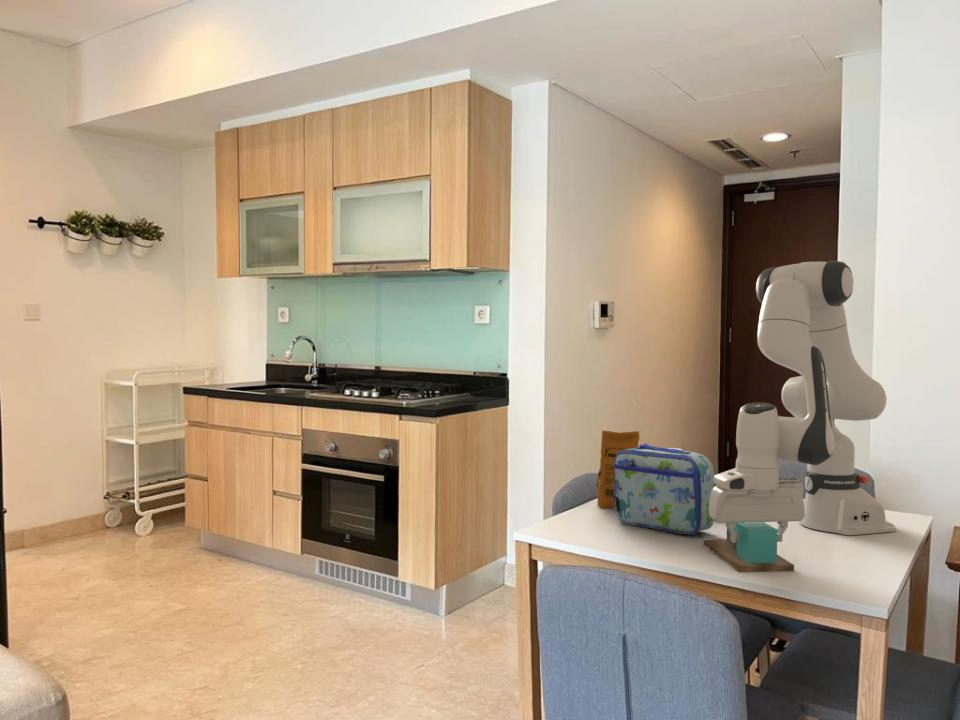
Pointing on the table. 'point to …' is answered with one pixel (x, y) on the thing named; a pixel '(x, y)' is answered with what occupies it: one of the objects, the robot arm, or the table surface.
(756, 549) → the matte teal cube
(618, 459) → the lunch box
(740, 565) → the walnut board
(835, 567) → the table surface
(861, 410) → the robot arm
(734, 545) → the steel post
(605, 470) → the coffee package
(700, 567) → the table surface
